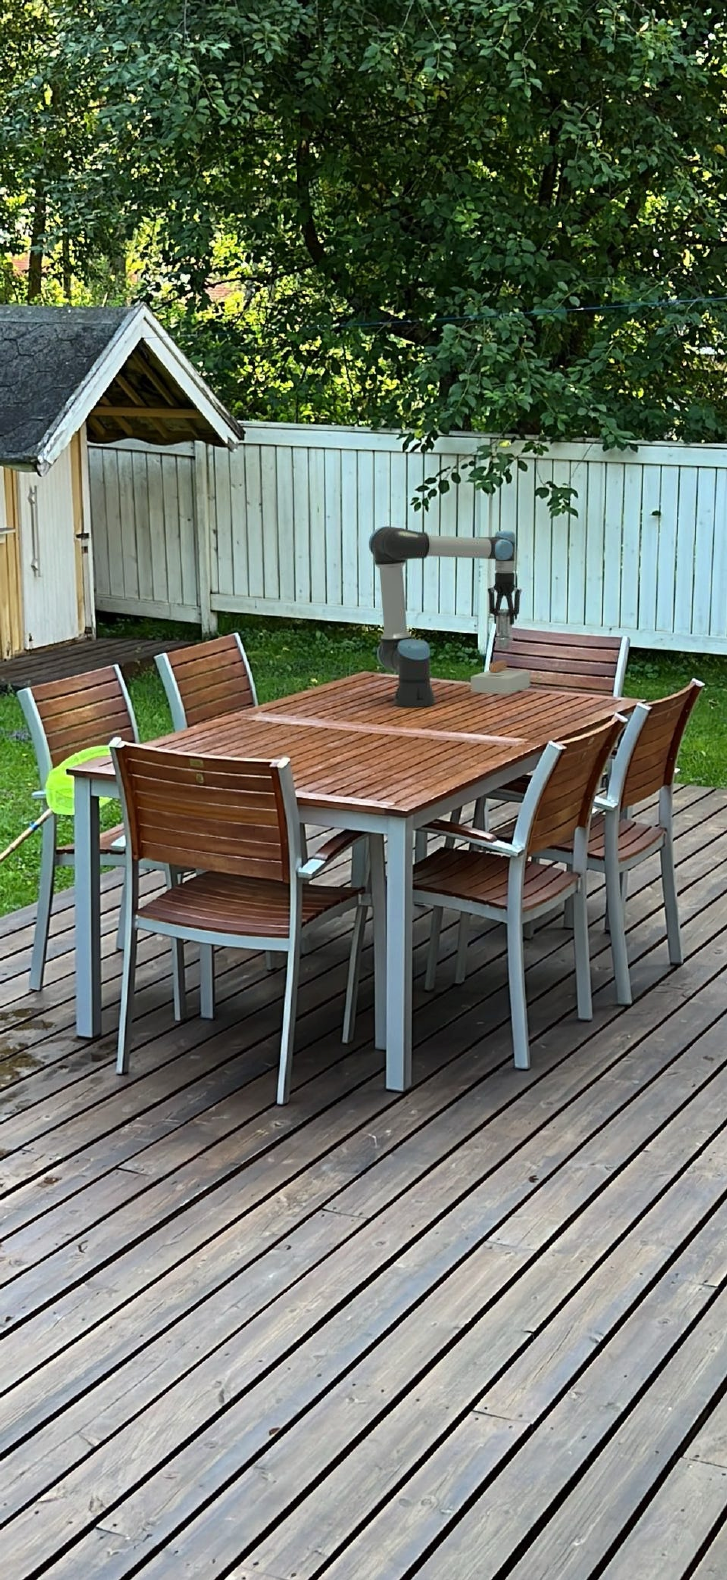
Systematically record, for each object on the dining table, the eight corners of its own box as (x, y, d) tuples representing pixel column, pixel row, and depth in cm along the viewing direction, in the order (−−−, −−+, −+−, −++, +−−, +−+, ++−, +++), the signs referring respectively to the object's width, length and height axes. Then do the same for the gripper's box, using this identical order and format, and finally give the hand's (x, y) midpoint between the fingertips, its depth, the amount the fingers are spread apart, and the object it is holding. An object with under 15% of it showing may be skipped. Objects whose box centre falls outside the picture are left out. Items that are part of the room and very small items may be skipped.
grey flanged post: (492, 649, 691) (492, 610, 688) (499, 647, 697) (499, 608, 694) (508, 649, 688) (509, 610, 685) (515, 648, 694) (515, 609, 691)
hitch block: (470, 692, 689) (470, 676, 688) (492, 684, 706) (492, 669, 705) (509, 694, 681) (509, 678, 680) (530, 686, 699) (529, 671, 697)
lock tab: (496, 672, 694) (496, 664, 694) (488, 671, 696) (488, 664, 696) (508, 668, 704) (508, 660, 704) (500, 667, 706) (500, 660, 705)
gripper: (480, 571, 687) (479, 632, 692) (521, 573, 680) (520, 634, 684) (488, 570, 694) (487, 630, 698) (529, 571, 686) (528, 632, 691)
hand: (503, 632), depth 691 cm, fingers closed on grey flanged post, 4 cm apart
